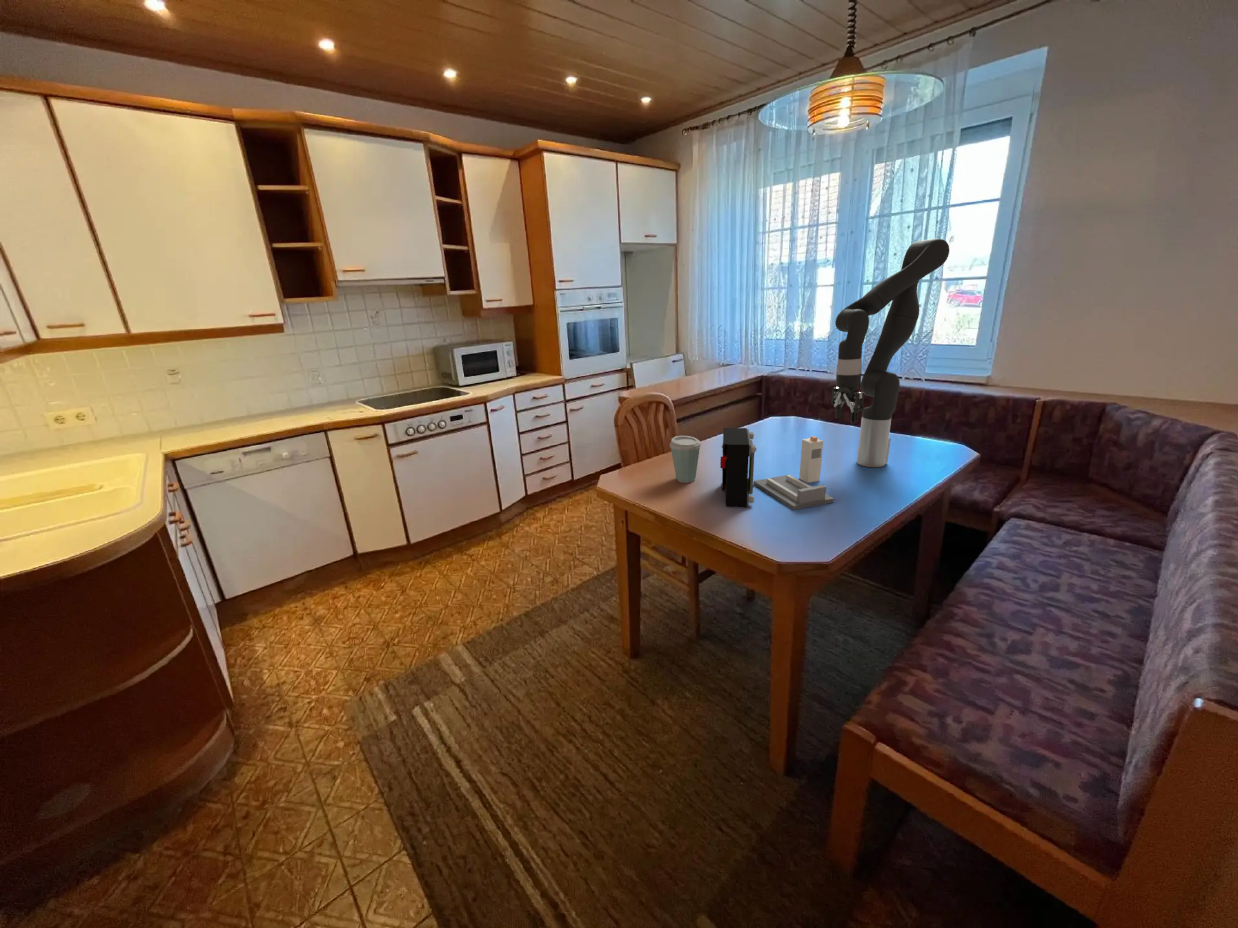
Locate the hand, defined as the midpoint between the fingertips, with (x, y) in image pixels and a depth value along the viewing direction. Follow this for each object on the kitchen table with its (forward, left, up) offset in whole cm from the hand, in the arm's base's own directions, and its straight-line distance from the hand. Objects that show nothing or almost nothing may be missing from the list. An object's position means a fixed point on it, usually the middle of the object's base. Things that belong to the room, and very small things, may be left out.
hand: (845, 420), depth 167 cm
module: (+15, +3, -18) cm, 24 cm away
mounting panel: (+27, +10, -18) cm, 34 cm away
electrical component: (+44, +5, -18) cm, 48 cm away
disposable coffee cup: (+53, -14, -18) cm, 58 cm away
